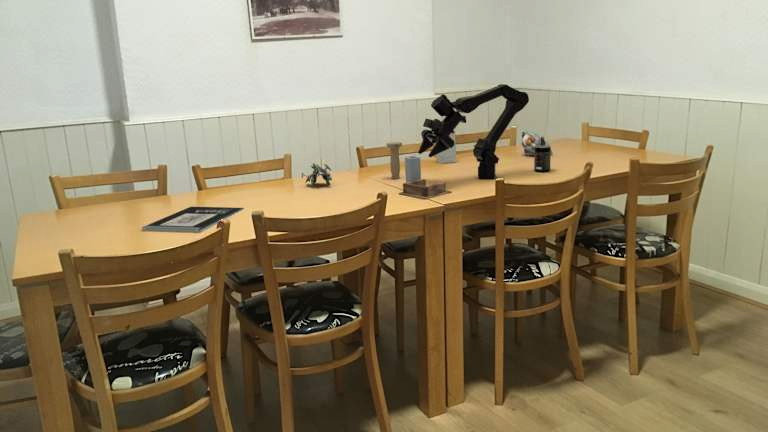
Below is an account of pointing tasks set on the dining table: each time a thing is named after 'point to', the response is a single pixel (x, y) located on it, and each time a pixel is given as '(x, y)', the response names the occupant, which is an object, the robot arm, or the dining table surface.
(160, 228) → the sketchbook
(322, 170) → the dark green irregular figure
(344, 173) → the dining table surface
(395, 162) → the handle
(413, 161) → the post
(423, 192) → the brown wooden tray
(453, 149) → the skincare box
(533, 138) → the lucky cat figurine
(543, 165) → the supplement container
